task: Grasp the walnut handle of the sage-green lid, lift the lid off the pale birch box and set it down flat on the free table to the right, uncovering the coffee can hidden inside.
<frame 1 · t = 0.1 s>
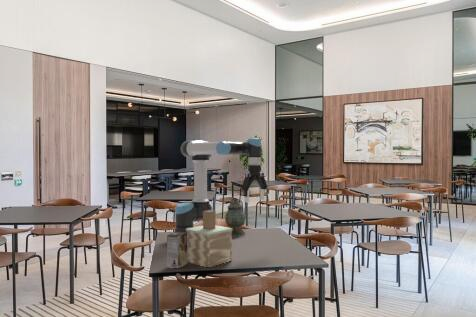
hand: (254, 201, 212), 28 cm above the table, fingers open, 13 cm apart
coffee can: (209, 261, 188), resting in box
lid: (209, 230, 188), point 16 cm above the table, touching box
box: (209, 261, 188), on the table
coffee box: (177, 266, 181), on the table
dark green urn: (235, 233, 255), on the table
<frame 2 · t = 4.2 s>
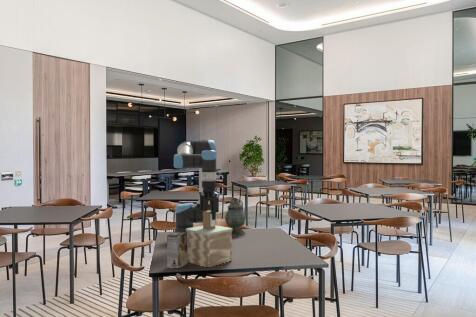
hand: (209, 225, 188), 19 cm above the table, fingers closed on lid, 4 cm apart
lid: (209, 230, 188), point 16 cm above the table, touching box, gripper
everything else where it was.
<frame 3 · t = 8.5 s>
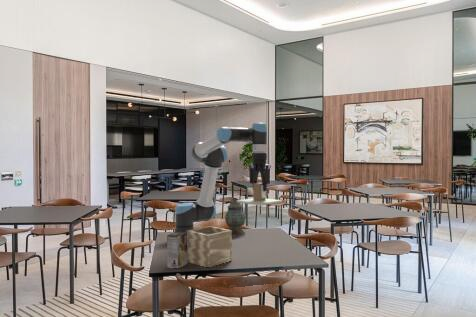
hand: (259, 197, 191), 33 cm above the table, fingers closed on lid, 4 cm apart
lid: (259, 202, 191), point 30 cm above the table, touching gripper
everything else where it was.
when the fingers open (4 cm above the table, at t = 13.0 s): lid drops 2 cm, on the table.
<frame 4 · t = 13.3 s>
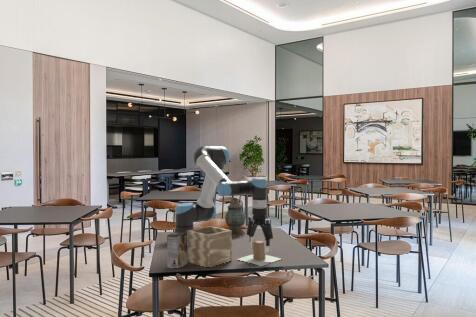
hand: (259, 250, 191), 5 cm above the table, fingers open, 9 cm apart
lid: (259, 260, 191), on the table
everything else where it was.
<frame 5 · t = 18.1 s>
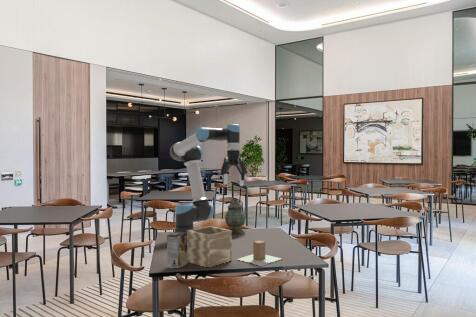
hand: (233, 185, 219), 37 cm above the table, fingers open, 13 cm apart
nothing on the table moved.
at the end: lid inside the target area (0.1 cm from its centre), on the table; lid tilted 0°; the gripper is holding nothing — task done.
